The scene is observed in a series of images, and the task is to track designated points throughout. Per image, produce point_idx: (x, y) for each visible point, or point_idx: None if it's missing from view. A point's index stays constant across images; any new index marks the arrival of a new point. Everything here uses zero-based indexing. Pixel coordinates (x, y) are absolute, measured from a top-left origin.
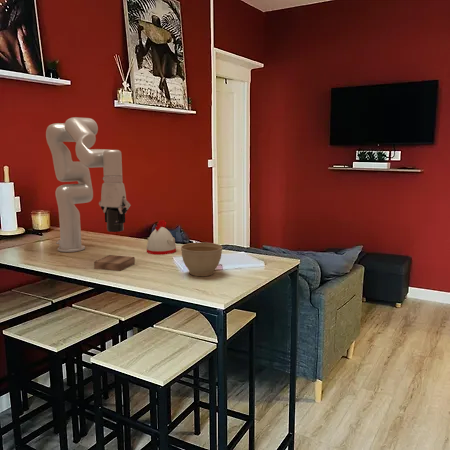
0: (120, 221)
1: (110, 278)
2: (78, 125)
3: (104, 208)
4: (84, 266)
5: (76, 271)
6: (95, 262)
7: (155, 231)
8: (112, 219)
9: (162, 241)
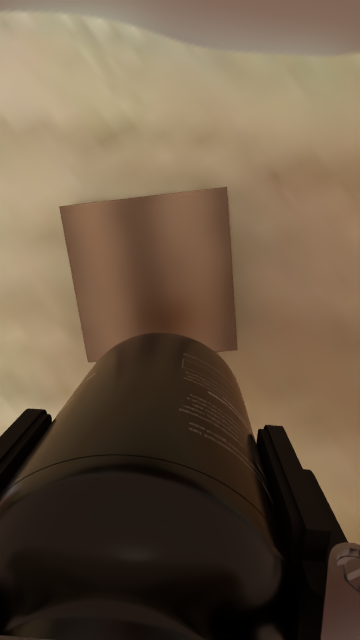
0: (16, 422)
1: (22, 60)
2: None
3: None
4: (301, 209)
5: (278, 100)
6: (216, 188)
7: None
8: (101, 394)
9: None
